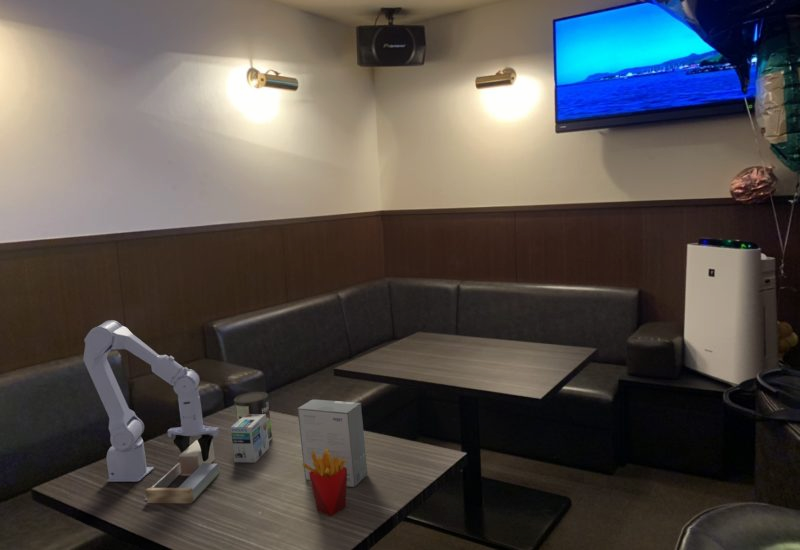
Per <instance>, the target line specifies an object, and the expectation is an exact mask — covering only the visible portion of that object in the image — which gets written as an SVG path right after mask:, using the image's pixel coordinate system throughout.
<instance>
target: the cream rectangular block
mask: <svg viewBox="0 0 800 550" xmlns="http://www.w3.org/2000/svg"><path fill="white" fill-rule="evenodd" d="M213 442H214V441H213V440H212V442H211V445H210V449H209V458H208V459H207V460H206V461H203V458H202V452H201V448H200V445H199V443H198V439H196V440H195V441H193V443H192V444H189V445H190V446H189V447H188V448H187V449H186V450H185V451H184V452H182V453H181V452H180V454H179V456H178V457H179V463H180V465H181V476H187V477H189V476H190V475H192V474H193V473H194V472H195V471H196V470H197V469H198V468H199V467H200V466H201V465H202V464H213V462H214V461H215V460H216V458H215V452H214V451H215V450H214V443H213Z"/></svg>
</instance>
